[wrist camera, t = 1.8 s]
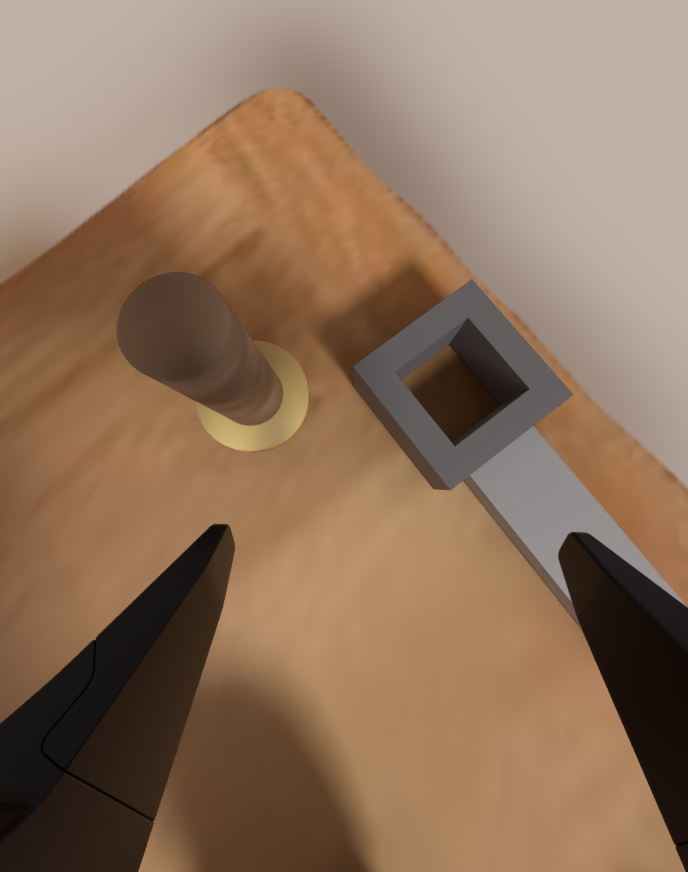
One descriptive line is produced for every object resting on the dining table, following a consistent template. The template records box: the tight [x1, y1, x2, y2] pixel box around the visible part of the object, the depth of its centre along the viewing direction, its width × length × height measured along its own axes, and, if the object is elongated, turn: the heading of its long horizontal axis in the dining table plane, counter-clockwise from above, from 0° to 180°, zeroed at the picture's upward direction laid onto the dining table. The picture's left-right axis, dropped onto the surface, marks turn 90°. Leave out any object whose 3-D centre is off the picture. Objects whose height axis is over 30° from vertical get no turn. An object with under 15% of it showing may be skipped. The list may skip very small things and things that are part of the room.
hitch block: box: [353, 279, 687, 627], centre depth 21 cm, size 9×23×4 cm, turn 37°
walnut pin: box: [117, 272, 310, 452], centre depth 18 cm, size 6×6×13 cm
